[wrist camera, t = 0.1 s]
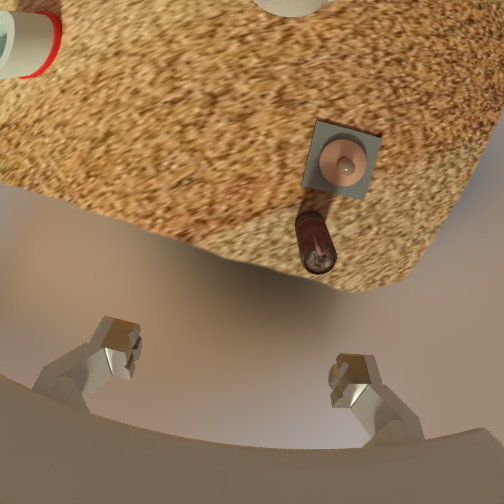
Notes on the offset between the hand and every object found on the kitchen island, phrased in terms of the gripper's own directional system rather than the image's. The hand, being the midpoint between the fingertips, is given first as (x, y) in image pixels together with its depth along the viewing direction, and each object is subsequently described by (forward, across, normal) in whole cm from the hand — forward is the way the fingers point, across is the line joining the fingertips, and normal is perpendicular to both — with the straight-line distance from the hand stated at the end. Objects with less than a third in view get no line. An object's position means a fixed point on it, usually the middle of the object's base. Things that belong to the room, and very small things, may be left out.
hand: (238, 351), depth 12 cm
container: (+48, +52, -19) cm, 73 cm away
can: (+48, -13, +15) cm, 52 cm away
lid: (+47, -16, +1) cm, 50 cm away
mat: (+48, -16, +1) cm, 51 cm away
